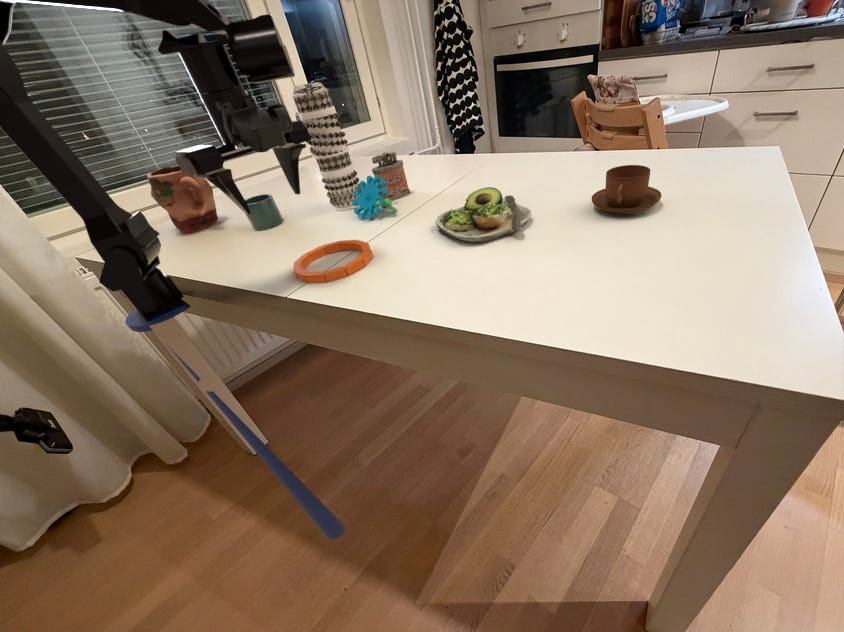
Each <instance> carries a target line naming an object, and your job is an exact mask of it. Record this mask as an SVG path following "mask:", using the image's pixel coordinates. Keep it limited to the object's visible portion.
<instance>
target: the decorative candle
mask: <svg viewBox="0 0 844 632" xmlns="http://www.w3.org/2000/svg"><path fill="white" fill-rule="evenodd" d="M329 90H330V89H329V88H326V87H325V85H323V83H321V82H320V81H315V82H310V83H304V84H300V85H297V86H295V87H293V90H292V91H293V94H292V95H291V98H292V99H293V101H294V105H295V107H296V109H297V114H298V117H299V119H298V120H297V121H301V122H302V123H303V124H304V125H305V126H306V127H307V128H308V131H309V134H310V136H311V140H308V141H305V144H308V145H309V146H310V148H309V152H310V154H312V158H313V159H315V161H316V163H317V165H318V168H319V173H320V176H321V182H322V183H323V184H324V186H323V187H324V189H325V190H326V191H327V193H326V196H327V198H328V199H329V204H331V208H332V210H333V211H336V212H337V211H339V212H340V211H342V212H343V211H349V210H353V209H354V208H359V207H360V205H357V206H354V205H352V201H353V199H355V200H357V201H359V197H358V196H356V195H354V191H355V190H356V189H357V190H359V191H360V193H361V187H360V185H359V182H360V178H359V177H357V175H358V172H357V171H356V170H355V166H354V163H353V162H352V160H351V156H350V154H349V151H350V147H349V146H347V144H348V140H347V139H345V138H344V137H345V136H346V133H345V131H342V130H341V128H342V127H343V125H344V123H343V122H342V121H340V120H339V119H340V118H341V114H340V113H338V112H337V111H336V108H335V105H334V104H333V101H332V98H331V94H330V92H329Z"/></svg>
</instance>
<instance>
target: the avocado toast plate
mask: <svg viewBox="0 0 844 632" xmlns="http://www.w3.org/2000/svg"><path fill="white" fill-rule="evenodd" d="M531 216H532V210H531V209H529V208H527V207H525V206H522V205H520V204H518V203H516V199H515V197H514V196H513V195H505V196H504V197H503V195H502V192H501V191H500V190H499V189H498V188H496V187H492V186H487V187H482V188H479V189H477V190H475V191H473V192H471V193H470V194H468V196H467V198H466V199H465V203H464V206H460V207H457V208H454V209H450V210H447V211H445V212H442V213H440V214H439V215H438V216H437V218H435V224H436V227H437V229H438V230H439V231H441V232H442V233H445V234H447V235H448V236H450V237H453V238H454V239H457V240H461V241H463V242H467V243H485V242H491V241H494V240H498V239H500V238H502V237H505V236H508V235H510V234H514V233H515V232H520V231H522V230H523V225H524V224H526V223H527V222H528V221H529V220H530V218H531Z"/></svg>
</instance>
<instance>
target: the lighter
mask: <svg viewBox="0 0 844 632" xmlns="http://www.w3.org/2000/svg"><path fill="white" fill-rule="evenodd" d="M371 161H372V165H373V164H378V165H377V166H375V167H373V168H371V172H372V174H373V175H374V176H375V175H378V176H379V177H380V178H381V179H384V180H385V181H386V186H385V187H383V186H381V187H380V189H383V188H386V189H388V190H389V191H388V195H384V194H383V193H382V194H381V198H384V199H385V198H388V199H390V200H391V201H392V202H393V201H395V200H399V199H402V198H403V197H404V198H405V196H408V195H410V194H411V191H410V188H409V185H408V180H407V177H406V172H405V168H404V162H403V160H402V159H398V158H397V153H396V151H392V152H386V151H384V152H382V153H381V154H378V155H375V156H372V157H371ZM380 181H381V180H380ZM380 181H379V182H380ZM379 182H377V183H376V184H378V183H379Z"/></svg>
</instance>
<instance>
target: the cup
mask: <svg viewBox="0 0 844 632" xmlns="http://www.w3.org/2000/svg"><path fill="white" fill-rule="evenodd" d="M245 201H246V203H247V205H248V207H249V209H250V212H251V214H250V215H248V214H246V213H245V212H244V214H245V216H246V217H247V219H248V221H249V223H250V225H251V228H253V230H254V231H266V230H269V229H273V228H275V227H277V226H279V225H281V224H282V223H284V218H283V216H282V214H281V212H280V209H279V207H278V205H277V203H276V202H275V199H274V197H273V195H272V194H270V193H264V194H263V193H262V194H258V195H254V196H251V197H248V198H245Z"/></svg>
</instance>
